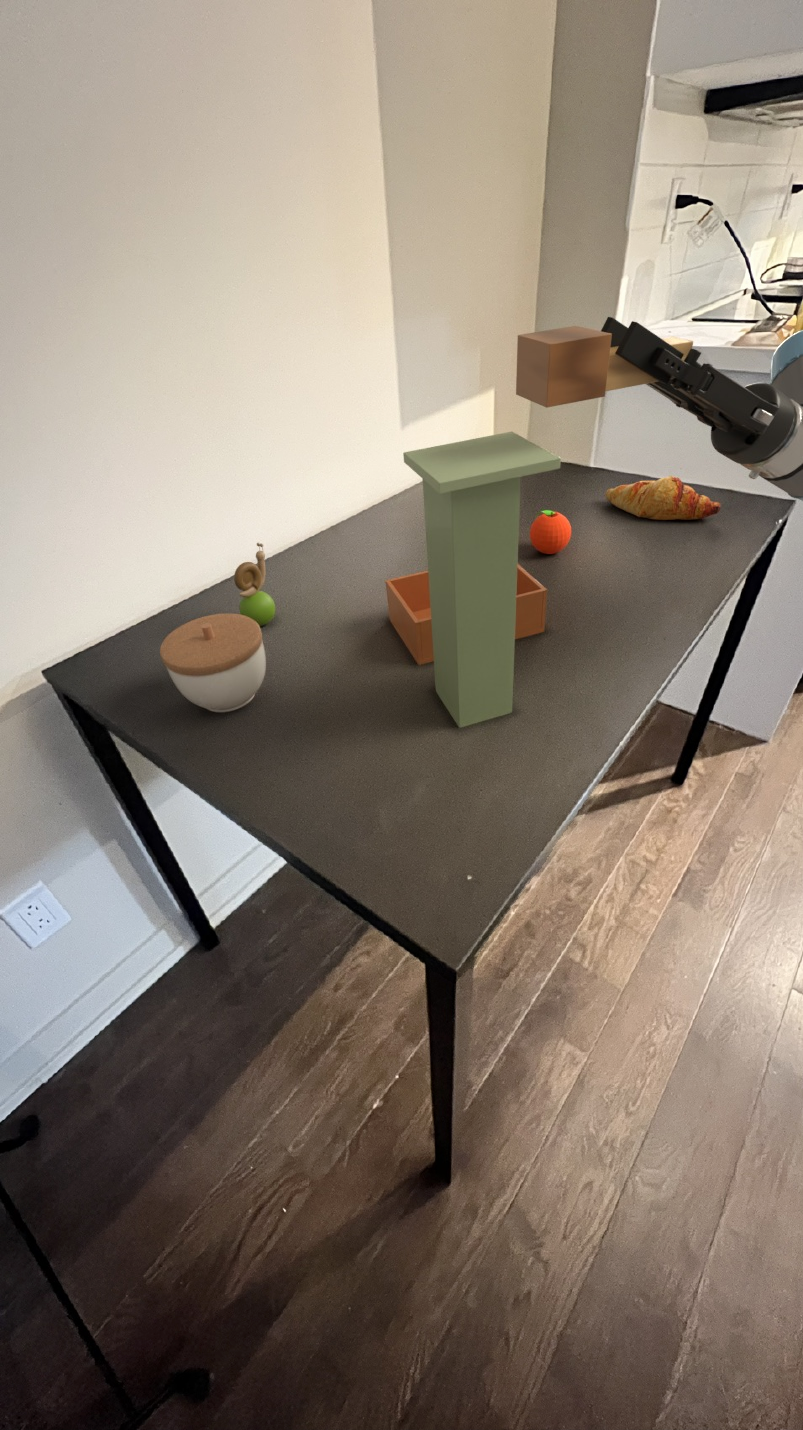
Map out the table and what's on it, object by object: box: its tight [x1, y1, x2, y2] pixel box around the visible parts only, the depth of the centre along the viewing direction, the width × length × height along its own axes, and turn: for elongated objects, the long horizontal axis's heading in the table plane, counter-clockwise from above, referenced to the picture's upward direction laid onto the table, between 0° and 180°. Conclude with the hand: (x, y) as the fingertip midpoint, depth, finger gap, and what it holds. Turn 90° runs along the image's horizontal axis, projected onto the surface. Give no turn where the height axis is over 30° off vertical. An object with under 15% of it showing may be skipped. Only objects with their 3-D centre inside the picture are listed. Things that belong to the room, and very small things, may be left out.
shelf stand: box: [403, 431, 562, 728], centre depth 69 cm, size 12×10×30 cm
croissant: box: [605, 475, 722, 521], centre depth 116 cm, size 21×10×8 cm, turn 53°
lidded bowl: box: [159, 613, 267, 713], centre depth 80 cm, size 13×13×11 cm
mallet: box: [515, 325, 694, 408], centre depth 58 cm, size 16×6×5 cm, turn 109°
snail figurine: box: [233, 542, 276, 627], centre depth 95 cm, size 5×6×12 cm
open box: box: [385, 563, 548, 666], centre depth 90 cm, size 19×13×7 cm
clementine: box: [529, 509, 572, 555], centre depth 107 cm, size 8×7×7 cm
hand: (614, 335), depth 57 cm, fingers closed on mallet, 3 cm apart
